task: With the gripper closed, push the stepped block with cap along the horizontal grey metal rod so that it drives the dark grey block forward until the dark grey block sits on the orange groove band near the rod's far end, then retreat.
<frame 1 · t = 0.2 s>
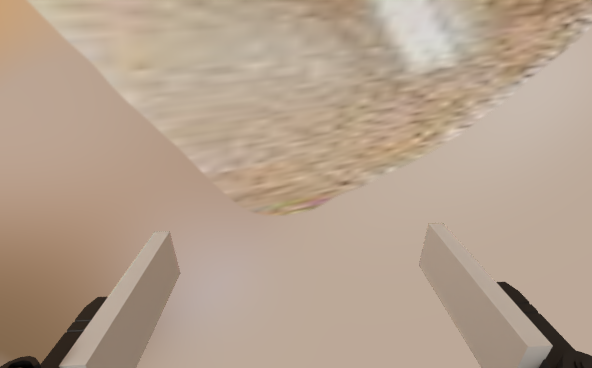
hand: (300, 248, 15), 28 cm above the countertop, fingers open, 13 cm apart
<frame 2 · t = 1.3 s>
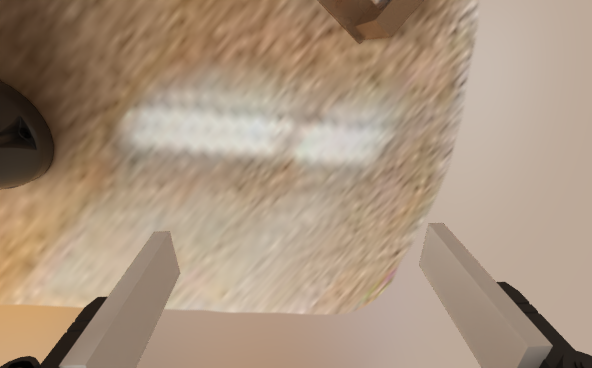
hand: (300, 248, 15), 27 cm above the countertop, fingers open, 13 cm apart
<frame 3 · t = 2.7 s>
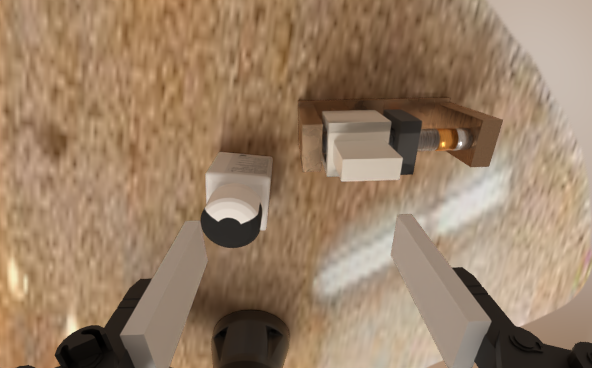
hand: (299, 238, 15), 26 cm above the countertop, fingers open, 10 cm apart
dark grey block: (397, 140, 31), point 9 cm above the countertop, slide at 0.0 cm
rod stand: (370, 121, 39), on the countertop
container: (245, 177, 42), on the countertop
stepped block with cap: (357, 149, 29), point 11 cm above the countertop, slide at 0.0 cm
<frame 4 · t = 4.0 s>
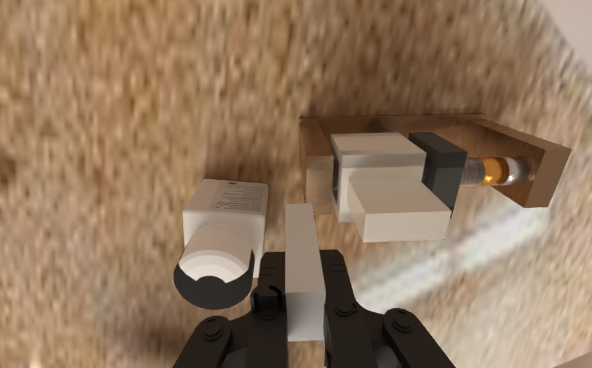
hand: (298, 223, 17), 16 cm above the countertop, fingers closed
dark grey block: (428, 173, 24), point 9 cm above the countertop, slide at 0.0 cm
rod stand: (387, 142, 32), on the countertop
container: (235, 207, 35), on the countertop
stepped block with cap: (379, 187, 22), point 12 cm above the countertop, slide at 0.0 cm
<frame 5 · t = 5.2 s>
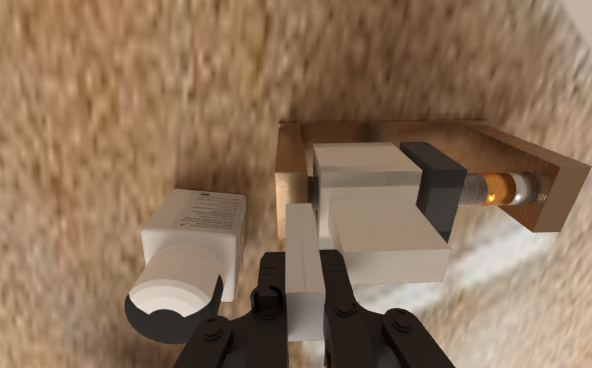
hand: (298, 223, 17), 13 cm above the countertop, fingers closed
dark grey block: (422, 190, 21), point 9 cm above the countertop, slide at 0.0 cm
rod stand: (378, 150, 29), on the countertop
container: (211, 220, 32), on the countertop
stepped block with cap: (366, 209, 18), point 12 cm above the countertop, slide at 0.3 cm, touching gripper
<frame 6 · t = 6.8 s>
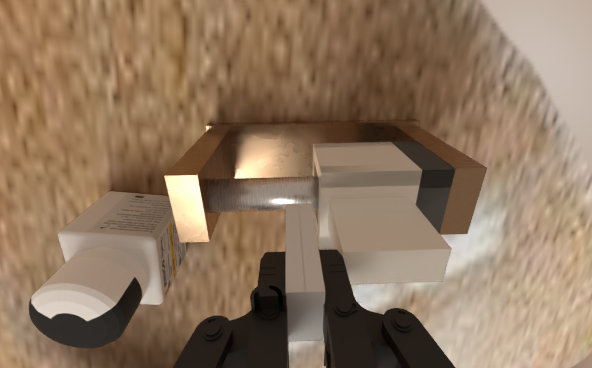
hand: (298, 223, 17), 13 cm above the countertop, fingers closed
dark grey block: (412, 190, 21), point 9 cm above the countertop, slide at 6.0 cm, touching stepped block with cap
rod stand: (312, 151, 29), on the countertop
container: (151, 222, 32), on the countertop
stepped block with cap: (366, 209, 18), point 11 cm above the countertop, slide at 7.0 cm, touching gripper, dark grey block
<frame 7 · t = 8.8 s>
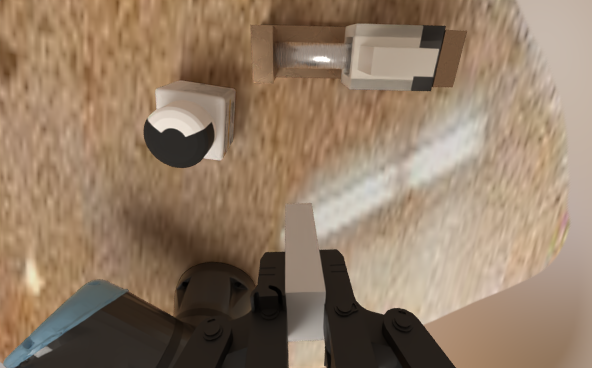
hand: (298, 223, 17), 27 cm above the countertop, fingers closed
dark grey block: (415, 58, 29), point 9 cm above the countertop, slide at 6.0 cm, touching stepped block with cap
rod stand: (339, 53, 37), on the countertop
container: (207, 112, 40), on the countertop
stepped block with cap: (384, 58, 27), point 12 cm above the countertop, slide at 7.0 cm, touching dark grey block
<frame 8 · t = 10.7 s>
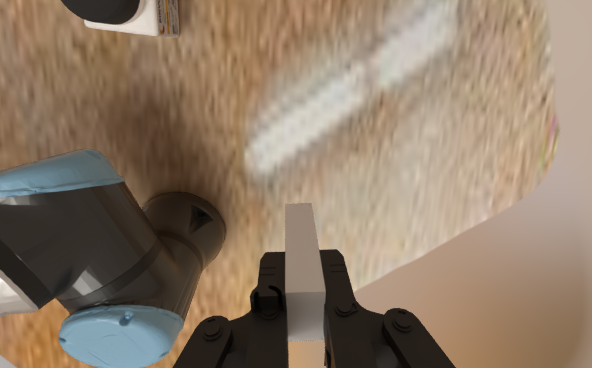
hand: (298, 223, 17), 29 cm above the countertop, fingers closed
container: (148, 1, 37), on the countertop
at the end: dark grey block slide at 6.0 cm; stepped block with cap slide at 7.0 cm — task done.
